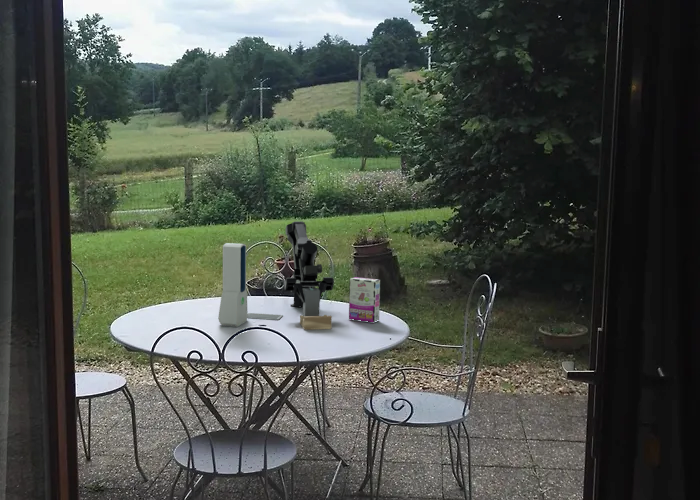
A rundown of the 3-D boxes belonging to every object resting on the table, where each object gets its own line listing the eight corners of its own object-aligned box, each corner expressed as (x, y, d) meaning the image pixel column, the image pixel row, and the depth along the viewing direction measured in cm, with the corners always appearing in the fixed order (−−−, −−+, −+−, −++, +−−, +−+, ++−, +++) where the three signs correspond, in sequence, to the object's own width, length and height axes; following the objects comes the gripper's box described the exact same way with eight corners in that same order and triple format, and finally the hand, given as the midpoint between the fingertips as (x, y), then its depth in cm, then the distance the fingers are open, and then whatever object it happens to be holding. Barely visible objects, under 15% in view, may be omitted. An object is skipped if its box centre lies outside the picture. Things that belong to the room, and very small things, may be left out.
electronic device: (236, 327, 273) (237, 246, 269) (217, 326, 274) (217, 245, 270) (248, 320, 285) (248, 242, 281) (229, 318, 287) (229, 241, 282)
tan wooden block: (300, 323, 282) (300, 311, 282) (326, 322, 284) (326, 310, 284) (304, 329, 273) (304, 317, 272) (331, 328, 275) (331, 316, 274)
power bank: (302, 318, 289) (303, 287, 288) (316, 318, 291) (317, 287, 289) (305, 321, 285) (305, 290, 283) (319, 321, 286) (319, 290, 284)
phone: (248, 315, 295) (248, 312, 295) (282, 317, 293) (282, 314, 293) (242, 319, 289) (242, 316, 289) (278, 321, 286) (278, 318, 286)
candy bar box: (379, 321, 289) (381, 279, 286) (374, 323, 284) (375, 281, 282) (354, 317, 294) (355, 276, 292) (348, 320, 289) (349, 278, 287)
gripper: (286, 257, 287) (289, 291, 278) (333, 256, 291) (339, 290, 282) (283, 273, 295) (286, 307, 286) (329, 273, 300) (334, 306, 290)
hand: (311, 302), depth 286 cm, fingers closed on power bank, 5 cm apart
